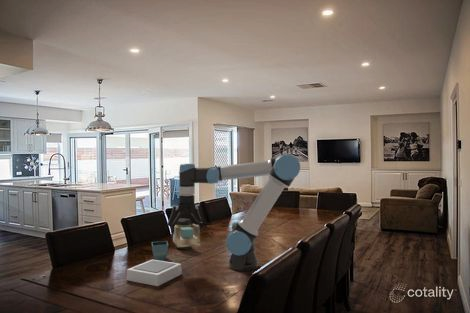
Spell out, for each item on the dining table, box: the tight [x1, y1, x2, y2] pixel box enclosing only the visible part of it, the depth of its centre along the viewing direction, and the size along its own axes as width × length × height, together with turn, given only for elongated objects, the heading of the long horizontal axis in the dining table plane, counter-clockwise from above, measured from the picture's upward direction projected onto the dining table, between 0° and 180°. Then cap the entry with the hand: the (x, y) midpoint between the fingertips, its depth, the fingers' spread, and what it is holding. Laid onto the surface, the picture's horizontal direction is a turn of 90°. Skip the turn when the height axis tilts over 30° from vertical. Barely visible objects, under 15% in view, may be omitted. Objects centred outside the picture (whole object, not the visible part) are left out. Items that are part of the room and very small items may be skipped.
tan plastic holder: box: [172, 223, 201, 247], centre depth 176 cm, size 11×12×8 cm
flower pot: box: [151, 240, 169, 261], centre depth 200 cm, size 9×9×9 cm
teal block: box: [180, 226, 193, 238], centre depth 176 cm, size 6×6×4 cm
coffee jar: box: [175, 217, 193, 250], centre depth 224 cm, size 10×8×19 cm
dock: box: [126, 259, 183, 287], centre depth 170 cm, size 18×18×5 cm
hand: (186, 239), depth 176 cm, fingers closed on tan plastic holder, 11 cm apart
